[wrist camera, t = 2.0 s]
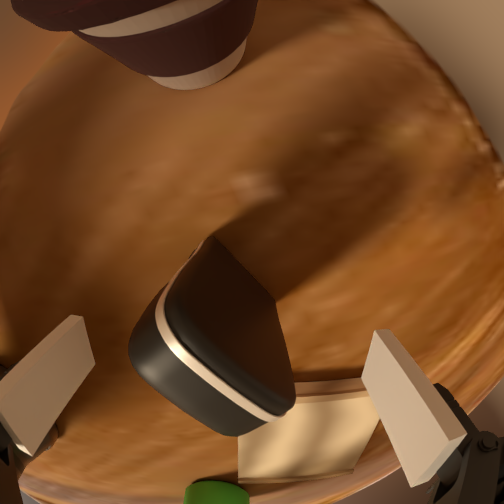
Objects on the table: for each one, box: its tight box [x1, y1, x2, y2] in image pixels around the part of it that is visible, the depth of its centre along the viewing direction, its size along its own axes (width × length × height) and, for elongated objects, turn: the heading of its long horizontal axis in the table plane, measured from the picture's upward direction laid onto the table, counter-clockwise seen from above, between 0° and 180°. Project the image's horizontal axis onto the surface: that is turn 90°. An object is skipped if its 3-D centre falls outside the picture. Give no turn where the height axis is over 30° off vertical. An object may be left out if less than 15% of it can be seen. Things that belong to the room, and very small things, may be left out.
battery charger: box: [128, 236, 296, 437], centre depth 14 cm, size 7×4×11 cm, turn 42°
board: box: [238, 377, 380, 484], centre depth 23 cm, size 14×16×2 cm
